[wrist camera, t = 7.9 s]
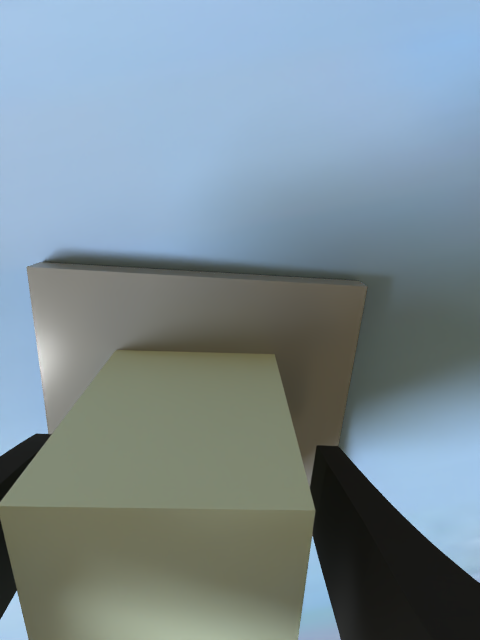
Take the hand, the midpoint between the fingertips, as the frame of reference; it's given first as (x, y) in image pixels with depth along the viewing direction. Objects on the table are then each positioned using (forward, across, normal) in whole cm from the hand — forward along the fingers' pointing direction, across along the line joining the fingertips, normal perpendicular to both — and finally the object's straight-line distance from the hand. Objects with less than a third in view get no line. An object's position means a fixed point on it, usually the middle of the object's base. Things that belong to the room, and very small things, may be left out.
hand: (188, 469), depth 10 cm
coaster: (+3, 0, 0) cm, 3 cm away
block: (+2, 0, 0) cm, 2 cm away
